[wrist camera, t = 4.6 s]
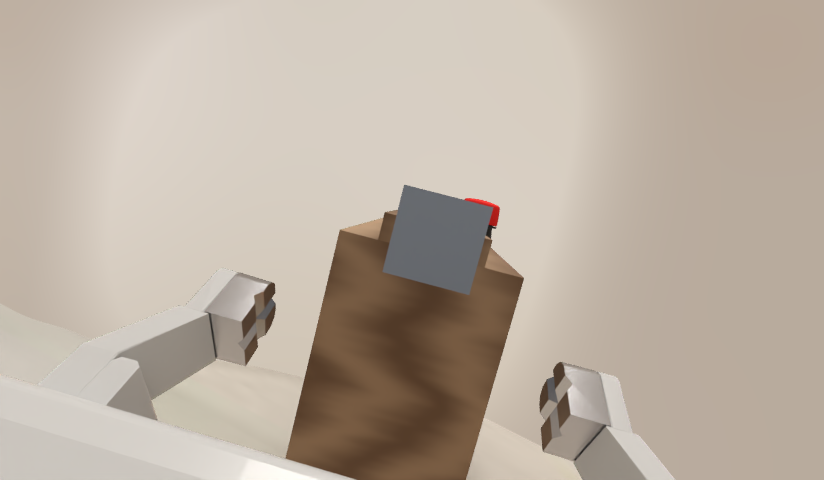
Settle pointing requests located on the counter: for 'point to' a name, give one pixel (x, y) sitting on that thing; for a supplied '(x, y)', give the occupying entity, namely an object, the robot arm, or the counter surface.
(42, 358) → the counter surface
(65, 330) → the counter surface
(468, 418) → the walnut block
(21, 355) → the counter surface
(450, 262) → the gray block
